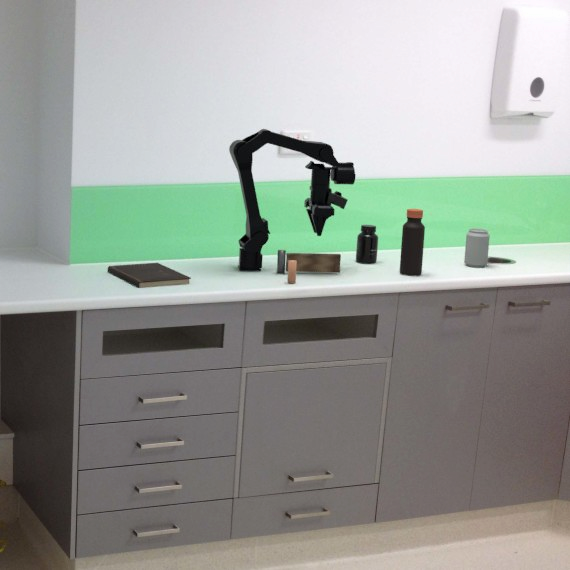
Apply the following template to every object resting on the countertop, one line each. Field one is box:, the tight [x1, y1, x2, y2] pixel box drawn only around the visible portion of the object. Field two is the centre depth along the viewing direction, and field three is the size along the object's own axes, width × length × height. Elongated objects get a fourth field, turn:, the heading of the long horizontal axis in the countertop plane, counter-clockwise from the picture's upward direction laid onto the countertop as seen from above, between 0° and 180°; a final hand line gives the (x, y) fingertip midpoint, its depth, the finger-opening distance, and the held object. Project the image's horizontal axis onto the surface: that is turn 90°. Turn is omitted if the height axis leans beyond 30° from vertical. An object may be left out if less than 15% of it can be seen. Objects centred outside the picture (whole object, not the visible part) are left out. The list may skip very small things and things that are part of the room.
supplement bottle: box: [355, 224, 379, 265], centre depth 347 cm, size 7×7×12 cm
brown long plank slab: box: [285, 252, 342, 274], centre depth 325 cm, size 16×2×6 cm, turn 99°
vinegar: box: [399, 208, 426, 277], centre depth 330 cm, size 7×7×20 cm
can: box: [463, 228, 491, 268], centre depth 349 cm, size 8×8×12 cm
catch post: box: [287, 260, 297, 285], centre depth 310 cm, size 2×2×6 cm
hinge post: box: [276, 249, 287, 275], centre depth 323 cm, size 2×2×7 cm
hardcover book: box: [107, 262, 192, 289], centre depth 309 cm, size 16×23×2 cm
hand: (317, 234), depth 330 cm, fingers open, 5 cm apart
